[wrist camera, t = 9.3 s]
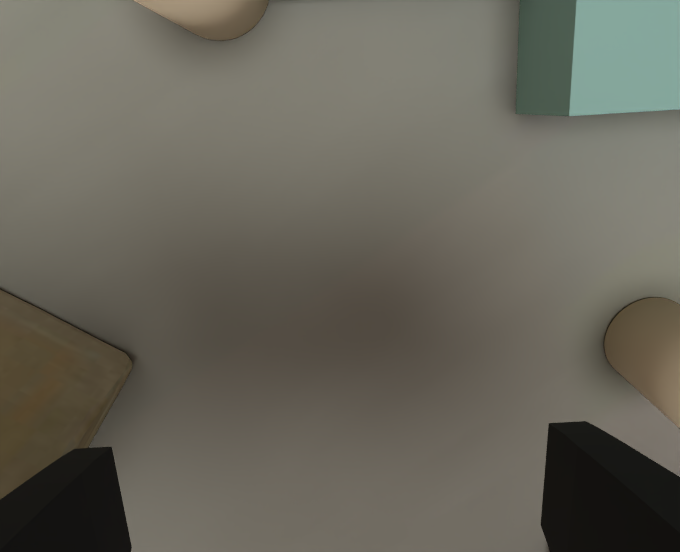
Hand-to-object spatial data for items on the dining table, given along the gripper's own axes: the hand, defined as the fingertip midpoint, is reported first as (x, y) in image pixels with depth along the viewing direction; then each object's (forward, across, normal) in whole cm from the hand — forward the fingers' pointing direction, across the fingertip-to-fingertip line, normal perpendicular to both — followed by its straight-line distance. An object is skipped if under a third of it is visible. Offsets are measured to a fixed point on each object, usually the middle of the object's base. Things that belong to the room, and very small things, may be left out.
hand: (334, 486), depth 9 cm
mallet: (+10, -6, -10) cm, 15 cm away
